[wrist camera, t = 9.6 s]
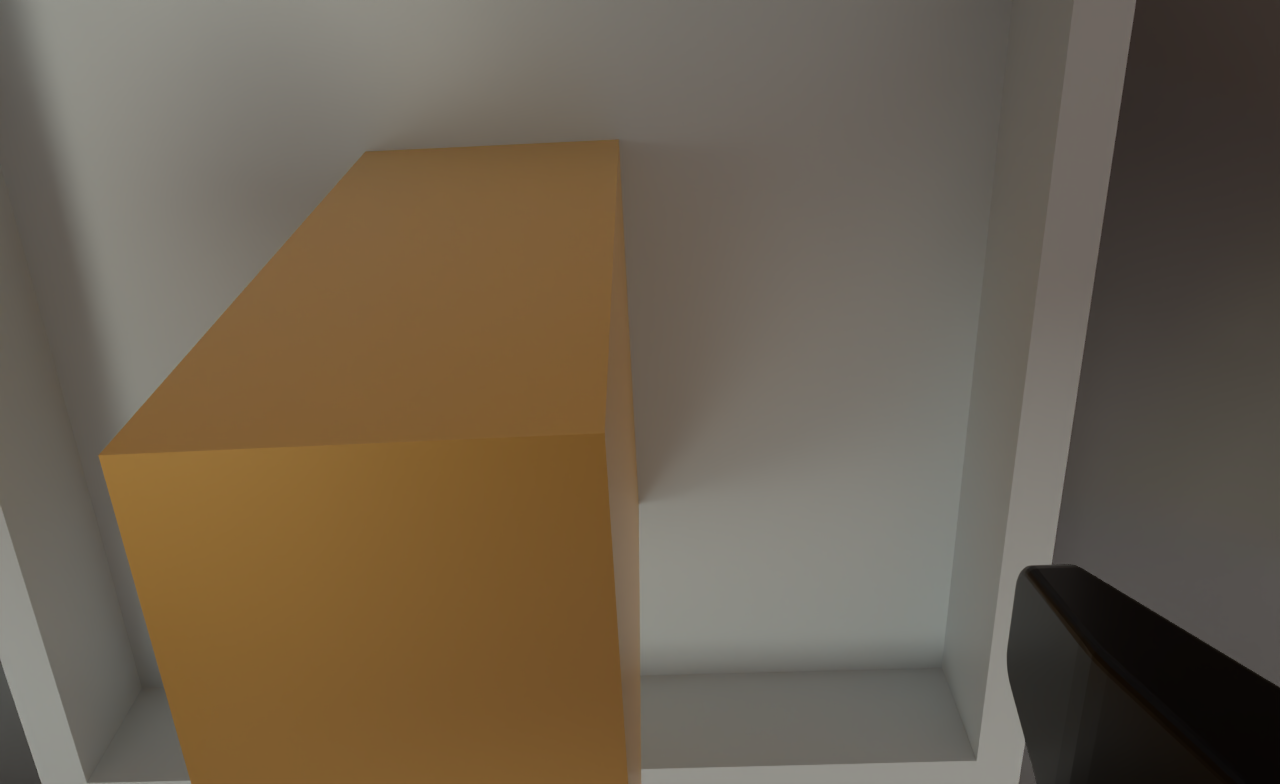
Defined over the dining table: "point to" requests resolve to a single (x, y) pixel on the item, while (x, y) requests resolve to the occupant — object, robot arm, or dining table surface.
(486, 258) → the orange rectangular block
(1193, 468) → the dining table surface
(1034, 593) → the robot arm
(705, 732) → the parts tray
